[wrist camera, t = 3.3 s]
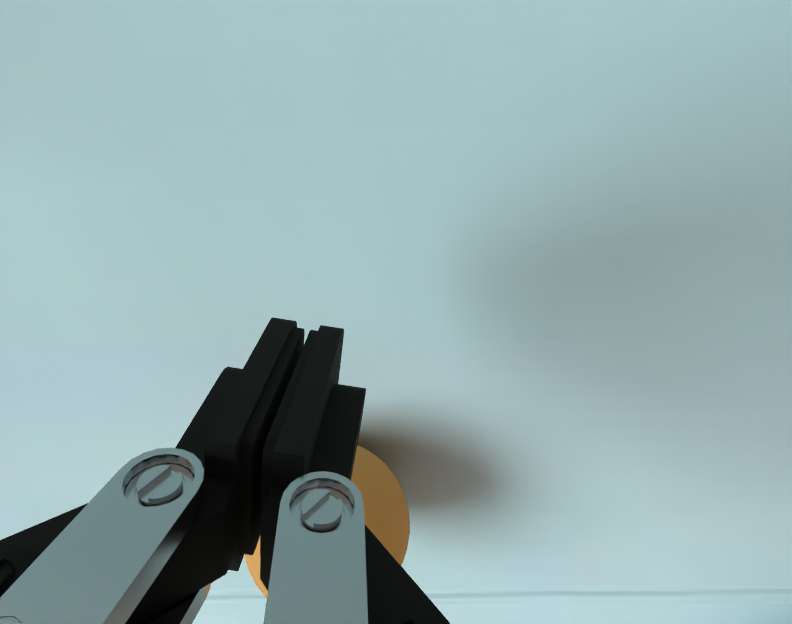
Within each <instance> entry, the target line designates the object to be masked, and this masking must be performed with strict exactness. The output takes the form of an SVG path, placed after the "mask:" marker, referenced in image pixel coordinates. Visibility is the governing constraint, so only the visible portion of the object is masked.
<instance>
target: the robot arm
mask: <svg viewBox="0 0 792 624" xmlns="http://www.w3.org/2000/svg"><path fill="white" fill-rule="evenodd" d="M343 336H344V329H341V328H335V327H329V326H322V325H321V326H320V328H319V330H318V331H315V330H310V332H309V334H308V337H307V339H306V342H305V344H304V329H302V328H297V323H296V321H291V320H285V319H279V318H271V320H270V321H269V323H268V325H267V327H266V329H265V330H264V332H263V334H262V336H261V338H260V339H259V341H258V343H257V345H256V347H255V348H254V350H253V352H252V354H251V355H250V357H249V359H248V361H247V363H246V364H245V366H244V368H243V369H238V368H232V367H227V368H225V369H224V370H223V372H222V373H221V375H220V376H219V378H218V379H217V381H216V383H215V384H214V386H213V388H212V389H211V391H210V392H209V394H208V396H207V397H206V399H205V401H204V402H203V404H202V405H201V407H200V409H199V410H198V412H197V414H196V415H195V417H194V418H193V420H192V422H191V423H190V425H189V427H188V428H187V430H186V431H185V433H184V435H183V436H182V438H181V440H180V441H179V443H178V444H177V446H176V448H162V449H155V450H152V451H148V452H145V453H143V454H141V455H139V456H137V457H135V458H133V459H131V460H130V461H129V462H128V463H127V464H125V465H124V466H123V467H122V468H121V469H120V470H119V471H118V472H117V473H116V474H115V475H114V476H113V477H112V478H111V480H110V481H109V482H108V483H107V484H106V485H105V486H104V487H103V488H102V489H101V490H100V491H99V492H98V493H97V495H96V496H95V497H94V498H93V499H92V500H91V501H90V502H89V503H87V504H85V505H83V506H80V507H78V508H75V509H73V510H71V511H68V512H66V513H64V514H61V515H59V516H57V517H54V518H52V519H49V520H47V521H45V522H42V523H40V524H38V525H35V526H33V527H31V528H28V529H26V530H23V531H21V532H19V533H16V534H14V535H12V536H9V537H7V538H4V539H2V540H0V624H192V623H193V621H194V619H195V617H196V615H197V614H198V612H199V610H200V608H201V606H202V605H203V603H204V601H205V599H206V597H207V595H208V592H209V590H210V584H211V583H212V582H213V581H215V580H217V579H218V578H220V577H222V576H223V575H225V574H226V573H227V571H228V570H234V571H238V570H239V567H240V565H241V562H242V559H243V556H244V554H246V555H253V554H254V552H255V549H256V546H257V543H258V540H259V538H260V579H261V581H262V583H263V584H264V586H265V587H266V589H267V591H268V595H267V603H266V610H265V617H264V624H450V623H449V621H448V620H447V619H446V618H445V617H444V616H443V614H442V613H441V612H440V611H439V610H438V609H437V607H436V606H435V605H434V604H433V603H432V602H431V600H430V599H429V598H428V597H427V596H426V595H425V593H424V592H423V591H422V590H421V589H420V588H419V586H418V585H417V584H416V583H415V582H414V581H413V580H412V578H411V577H410V576H409V575H408V574H407V573H406V571H405V570H404V569H403V568H402V567H401V566H400V564H399V563H398V562H397V561H396V560H395V559H394V557H393V556H392V555H391V554H390V553H389V552H388V550H387V549H386V548H385V547H384V546H383V545H382V543H381V542H380V541H379V540H378V539H377V538H376V536H375V535H374V534H373V533H372V532H371V531H370V529H369V528H368V527H367V526H366V525H365V521H364V503H363V499H362V494H361V493H360V491H359V490H358V488H357V486H356V485H355V484H354V483H352V482H351V477H352V472H353V466H354V461H355V455H356V450H357V444H358V438H359V432H360V426H361V420H362V413H363V407H364V400H365V393H366V389H365V388H359V387H352V386H346V385H340V384H338V380H339V371H340V362H341V354H342V345H343Z"/></svg>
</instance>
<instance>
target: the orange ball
mask: <svg viewBox="0 0 792 624" xmlns="http://www.w3.org/2000/svg"><path fill="white" fill-rule="evenodd" d="M351 482H352V483H354V484H355V485H356V486H357V488H358V490H359V491H360V493H361V494H362V499H363V503H364V521H365V525H366V526H367V527H368V528H369V529H370V531H371V532H372V533H373V534H374V535H375V536H376V538H377V539H378V540H379V541H380V542H381V543H382V545H383V546H384V547H385V548H386V549H387V550H388V552H389V553H390V554H391V555H392V556H393V557H394V559H395V560H396V561H397V562H398V563H399V564H400V566H401V565H402V563H403V560H404V557H405V554H406V550H407V546H408V539H409V533H410V521H409V511H408V506H407V502H406V498H405V495H404V492H403V490H402V488H401V485H400V483H399V481H398V480H397V478H396V476H395V475H394V473H393V472H392V471H391V470H390V468H389V467H388V466H387V465H386V464H385V463H384V462H383V461H382V460H381V459H380V458H379V457H377V456H376V455H375V454H373V453H372V452H370V451H369V450H367V449H365V448H363V447H361V446H358V445H357V450H356V455H355V461H354V466H353V472H352V477H351ZM244 556H245V559H246V563H247V566H248V569H249V572H250V574H251V576H252V578H253V580H254V581H255V583H256V585H257V586H258V588H259V589H260V590H261V592H262V593H263V594H264V596H265V597H266V598H267V595H268V591H267V589H266V587H265V586H264V584H263V583H262V581H261V579H260V538H259V540H258V543H257V546H256V549H255V552H254V554H253V555H246V554H244Z"/></svg>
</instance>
